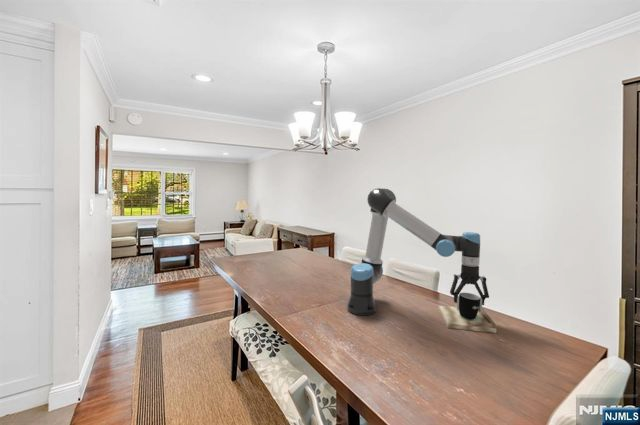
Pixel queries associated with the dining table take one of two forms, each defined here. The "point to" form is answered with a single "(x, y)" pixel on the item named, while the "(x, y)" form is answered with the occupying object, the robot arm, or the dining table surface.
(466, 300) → the mug
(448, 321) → the board
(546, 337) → the dining table surface
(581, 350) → the dining table surface
